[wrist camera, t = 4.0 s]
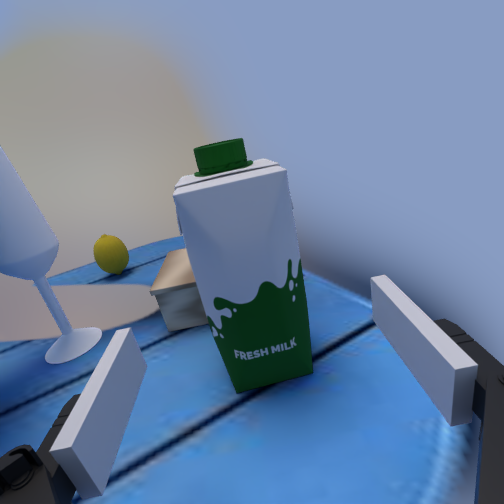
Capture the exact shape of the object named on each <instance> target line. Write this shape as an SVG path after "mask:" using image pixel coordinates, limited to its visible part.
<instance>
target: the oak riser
mask: <svg viewBox="0 0 504 504" xmlns="http://www.w3.org/2000/svg"><path fill="white" fill-rule="evenodd" d="M150 294H151V295H152V296H153V295H155V297H156V299H157V302H158V305H159V307H160V310H161V313H162V315H163V318H164V321H165V323H166V326H167V329H168V331H169V332H170V331H175V330H180V329H185V328H189V327H194V326H199V325H204V324H209V323H208V319H207V316H206V313H205V310H204V306H203V303H202V300H201V297H200V294H199V290H198V287H197V284H196V281H195V277H194V274H193V271H192V268H191V264H190V261H189V258H188V254H187V250H186V248H184V249H180V250H175V251H170V252H168V254H167V256H166V258H165V261H164V263H163V265H162V267H161V269H160V271H159V273H158V275H157V277H156V279H155V281H154V283H153V285H152V287H151V289H150Z"/></svg>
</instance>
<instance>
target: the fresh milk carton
mask: <svg viewBox="0 0 504 504" xmlns="http://www.w3.org/2000/svg"><path fill="white" fill-rule="evenodd" d="M194 154H195V158H196V162H197V166H198V169H199V172H196V173H195V174H194V175H188V176H183V177H181V178H180V180H179V182H178V183H177V184H176V185H175V192H174V194H173V198H174V202H175V205H176V213H177V220H178V225H179V231H180V235H182V233H183V238H184V242H185V246H186V250H187V254H188V258H189V261H190V264H191V268H192V271H193V274H194V277H195V281H196V284H197V287H198V290H199V294H200V297H201V300H202V303H203V306H204V310H205V313H206V316H207V319H208V323H209V326H210V329H211V331H212V334H213V337H214V340H215V342H216V344H217V347H218V349H219V351H220V354H221V356H222V359H223V361H224V364H225V366H226V368H227V371H228V373H229V376H230V378H231V380H232V383H233V385H234V388H235V390H236V393H240V392H243V391H247V390H251V389H255V388H258V387H262V386H266V385H270V384H273V383H277V382H281V381H285V380H289V379H292V378H296V377H300V376H304V375H307V374H311V373H313V366H312V354H311V342H310V329H309V318H308V308H307V300H306V293H305V286H304V279H303V273H302V266H301V259H300V253H299V246H298V239H297V233H296V227H295V221H294V216H293V211H292V209H293V205H292V201H291V196H290V191H289V185H288V178H287V170H286V169H284V168H282V167H280V165H279V164H278V163H277V162H273V161H270V160H268V159H259V160H256V161H251V160H250V161H247V159H246V158H247V156H246V152H245V147H244V142H243V139H242V138H239V139H233V140H227V141H222V142H218V143H213V144H209V145H205V146H201V147H198V148H195V149H194Z"/></svg>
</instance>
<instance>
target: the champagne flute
mask: <svg viewBox="0 0 504 504" xmlns="http://www.w3.org/2000/svg"><path fill="white" fill-rule="evenodd" d="M58 246H59V243H58V239H57V237H56V236H55V234H54V232H53V231H52V229H51V228H50V226H49V224H48V223H47V221H46V219H45V218H44V216H43V214H42V213H41V211H40V210H39V208H38V206H37V205H36V203H35V201H34V200H33V198H32V196H31V195H30V193H29V192H28V190H27V189H26V187H25V185H24V183H23V182H22V180H21V178H20V177H19V175H18V174H17V172H16V170H15V169H14V167H13V165H12V164H11V162H10V160H9V159H8V157H7V156H6V154H5V152H4V151H3V149H2V148H1V146H0V273H3V274H5V275H9V276H13V277H17V278H21V279H25V280H33V281H34V283H35V284H36V286H37V288H38V290H39V292H40V294H41V295H42V297H43V299H44V301H45V303H46V304H47V306H48V308H49V310H50V312H51V314H52V316H53V317H54V319H55V321H56V323H57V325H58V327H59V328H60V330H61V332H62V335H61V336H60V338H59V339H58V340H57V341H56V342H55V343H54V344H53V345H52V346H51V348H50V349H49V350H48V351H47V353H46V355H45V360H46V362H48V363H51V364H59V363H64V362H67V361H70V360H72V359H75V358H77V357H79V356H81V355H82V354H84V353H86V352H87V351H88V350H90V349H91V348H92V347H93V346H95V345H96V343H97V342H98V341H99V340H100V338H101V336H102V331H101V330H100V329H99V328H96V327H89V328H78V329H72V327H71V325H70V323H69V321H68V319H67V317H66V315H65V313H64V312H63V310H62V308H61V306H60V304H59V302H58V300H57V298H56V296H55V294H54V293H53V291H52V289H51V287H50V285H49V283H48V281H47V279H46V277H45V274H46V273H47V272H48V271H49V270H50V267H51V265H52V264H53V262H54V260H55V258H56V255H57V252H58Z"/></svg>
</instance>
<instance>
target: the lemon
mask: <svg viewBox="0 0 504 504" xmlns="http://www.w3.org/2000/svg"><path fill="white" fill-rule="evenodd" d="M94 257H95V260H96V263H97V264H98V266H99V267H100V268H101V269H102V270H104V271H105V272H108V273H115V274H118V275H119V274H121V273H122V271H123V269H125V268H126V266H127V264H128V261H129V254H128V251H127V248H126V246H125V245H124V243H123V242H122V241H121V240H120V239H119V238H117V237H115V236H110V235H105V234H104V235H102V236H101V238H99V239H98V240H97V241H96V243H95V245H94Z"/></svg>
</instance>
